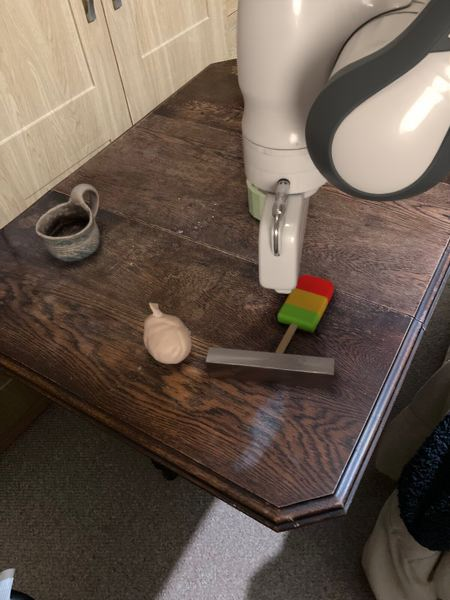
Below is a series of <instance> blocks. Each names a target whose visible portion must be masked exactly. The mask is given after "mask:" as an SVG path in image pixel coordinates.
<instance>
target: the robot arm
mask: <svg viewBox="0 0 450 600" xmlns="http://www.w3.org/2000/svg"><path fill="white" fill-rule="evenodd" d="M236 7H237V8H236V9H237V10H236V34H235V35H236V42H235V43H236V71H237V82H238V87H239V89H240V92H241V94H242V98H243V108H244V109H243V114H242V117H241V125H240V127H241V138H242V139H241V141H242V155H243V168H244V175H245V177H246V180H247V179H248V180H249V181H250V182H251V183H252V184H253V185H254V186H256V187H258V188H259V189H260V191H261V192H262V193H263V194H264V195H266V198H265V202H264V206H263V210H262V215H261V219H260V220H259V228H258V241H257V242H258V243H257V245H258V246H257V249H258V254H257V255H258V256H257V257H258V258H257V259H258V260H257V261H258V283H259V284H260V286H261V287H262V288H264V289H267V290H274V291H275V292H276V293H278V294H287V295H289V294H290V293H291V291H292V290H293V289H295V288H296V286H297V282H298V279H299V277H300V269H301V262H302V255H303V248H304V242H305V241H304V240H305V234H306V226H307V220H308V214H309V207H310V199H311V196H312V195H314V194H315V193H317V192H318V191H319V189H320V188H321V187H322V186H324V185H325V184H327V183H329V184H330V185H331V186H333V187H334V188H336V189H337V190H339V191H340V192H342V193H344V194H346V195H348V196H351V197H353V198H355V199H358V200H359V199H360V200H364V201H370V202H382V203H383V202H384V203H385V202H396V201H403V200H407V199H411V198H414V197H417V196H419V195H422V194H424V193H426V192H428V191H430V190H431V189H433V188H434V187H436V186H437V185H438V184H439V183H441V182H442V181H443V180H444V179H445V178H446V177H447V176H448V175H449V174H450V0H237V6H236Z"/></svg>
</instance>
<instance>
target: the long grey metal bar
mask: <svg viewBox="0 0 450 600" xmlns="http://www.w3.org/2000/svg"><path fill="white" fill-rule="evenodd" d="M205 364H206V365H205V366H206V370H207V376H208V378H216V379H223V380H224V379H225V380H232V381H234V380H235V381H242V382H244V381H245V382H253V383H261V384H262V383H263V384H272V385H281V386H291V387H301V388H310V389H318V390H319V389H321V390H331V391H332V390H333V386H334V385H333V384H334V376H335V358H334V357H322V356H314V355H313V356H311V355H302V354H291V353H283V354H281V353H276V352H271V351H258V350H248V349H247V350H246V349H236V348H226V347H215V346H209V347H208V350H207V354H206V358H205Z"/></svg>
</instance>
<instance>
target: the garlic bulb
mask: <svg viewBox="0 0 450 600" xmlns="http://www.w3.org/2000/svg"><path fill="white" fill-rule="evenodd" d="M148 305H149V307H150V309H151V311H152V313H151V314H149V315H148V316H147V317H146V318H145V320H144V322H143V328H144V329H143V333H142V334H143V335H142V336H143V337H142V338H143V343H144V346H145V348H146V349H147V351H148V353H149V355H151V357H153V359H154V360H155V361H157V362H159V363H161V364H165V365H175V364H180V363H181V362H182V361H184V360H185V359H186V358H187V357H188V356H189V355H190V353H191V351H192V345H193V342H192V336H191V333H192V332H191V330H190V328H188V327H189V325H188V324H185V323H184V322H183V321H182V319H180V318H179V317H178V316H175V315H172V314H166V313H164V312H162V311H161V310H160V308H159V303H157V302H155V303H153V302H148Z"/></svg>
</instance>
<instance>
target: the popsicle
mask: <svg viewBox="0 0 450 600" xmlns="http://www.w3.org/2000/svg"><path fill="white" fill-rule="evenodd" d="M334 287H335V285H334V283H333V282H332V281H330V280H328V279H325V278H322V277H318V276H315V275H311V274H303V275H301V276H299V277H298V282H297V286H296V288H295V289H293V290H292V291H291V293H289V294H288V296H287V297H286V299H285V301H284V302H283V304H282V306H281V307H280V309H279V311H278V313H277V321H278V323H281V324H283V325H287V326H288V328H287V330H286V332H285V333H284V335H283V337H282V339H281V341H280V343H279V344H278V346H277V348H276V350H275V353H281V354H285V351H286V349H287V348H288V345H289V343H290V342H291V340H292V338H293V336H294V334H295V333H296V331H297V329H299V330H302V331H305V332H308V333H312V334H313V333H314V332H315V330H316V329H317V326H318V324H319V322H320V320H321V319H322V317H323V315H324V313H325V311H326V309H327V307H328V305H329V303H330V301H331V299H332V297H333V294H334V291H335V288H334Z"/></svg>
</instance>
